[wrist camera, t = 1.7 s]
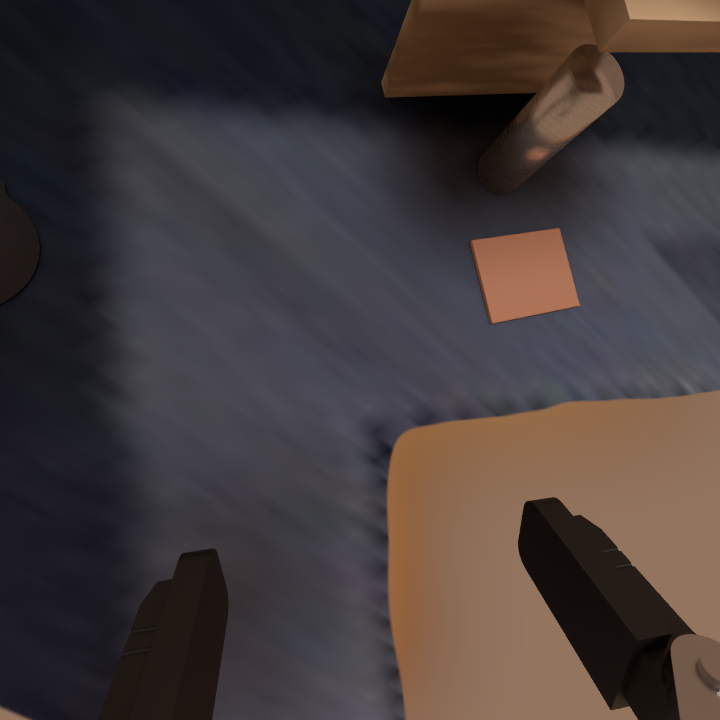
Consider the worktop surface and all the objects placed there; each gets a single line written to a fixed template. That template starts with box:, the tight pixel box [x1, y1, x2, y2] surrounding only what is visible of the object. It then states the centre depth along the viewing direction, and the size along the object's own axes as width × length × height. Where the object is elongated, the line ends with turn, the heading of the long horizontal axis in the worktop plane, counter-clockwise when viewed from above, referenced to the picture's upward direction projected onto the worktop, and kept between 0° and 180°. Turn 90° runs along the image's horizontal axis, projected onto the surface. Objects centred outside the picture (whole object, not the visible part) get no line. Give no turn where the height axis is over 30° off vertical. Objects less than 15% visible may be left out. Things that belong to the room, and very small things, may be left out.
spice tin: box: [477, 44, 624, 195], centre depth 33 cm, size 5×5×12 cm
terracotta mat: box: [470, 228, 580, 324], centre depth 38 cm, size 8×10×1 cm
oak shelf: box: [381, 0, 720, 98], centre depth 29 cm, size 16×20×22 cm
